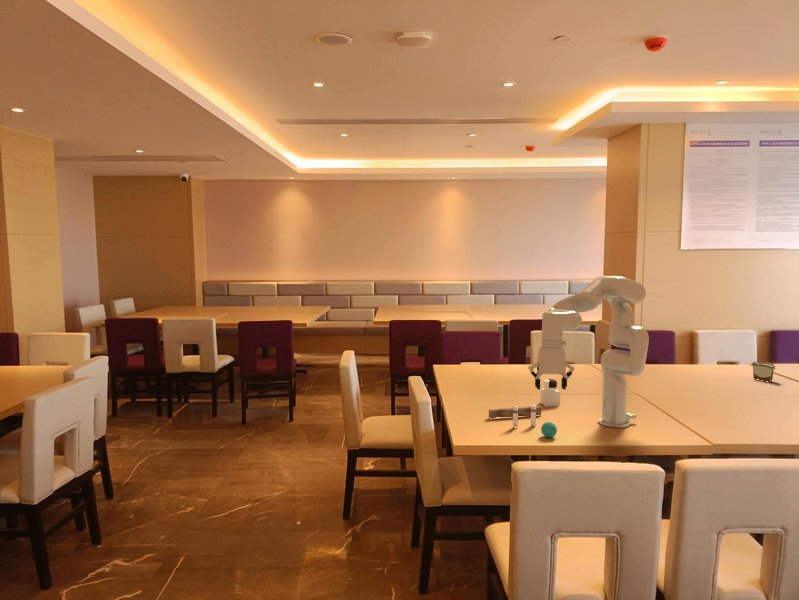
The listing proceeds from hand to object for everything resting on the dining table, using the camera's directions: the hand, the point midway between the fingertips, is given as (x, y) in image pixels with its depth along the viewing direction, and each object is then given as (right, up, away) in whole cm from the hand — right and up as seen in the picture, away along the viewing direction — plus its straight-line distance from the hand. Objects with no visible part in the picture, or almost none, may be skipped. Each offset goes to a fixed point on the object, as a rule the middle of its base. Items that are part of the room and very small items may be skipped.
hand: (550, 388), depth 207 cm
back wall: (-6, -18, +35) cm, 40 cm away
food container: (+150, -12, +101) cm, 181 cm away
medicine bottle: (+15, -17, +55) cm, 60 cm away
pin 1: (-9, -19, +20) cm, 29 cm away
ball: (+1, -17, +7) cm, 19 cm away
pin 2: (-1, -19, +21) cm, 29 cm away
